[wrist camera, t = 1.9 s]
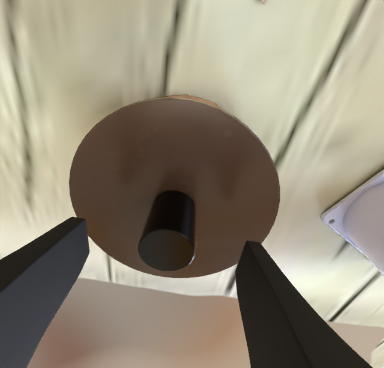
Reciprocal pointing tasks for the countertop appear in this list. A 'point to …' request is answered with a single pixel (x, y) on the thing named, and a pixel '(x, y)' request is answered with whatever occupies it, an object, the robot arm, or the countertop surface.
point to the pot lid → (174, 187)
